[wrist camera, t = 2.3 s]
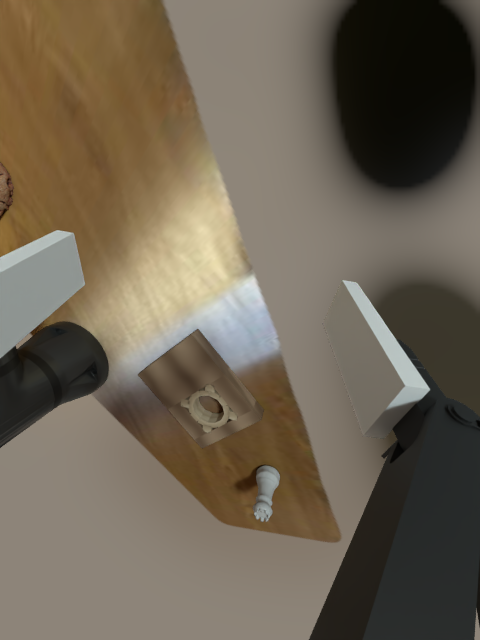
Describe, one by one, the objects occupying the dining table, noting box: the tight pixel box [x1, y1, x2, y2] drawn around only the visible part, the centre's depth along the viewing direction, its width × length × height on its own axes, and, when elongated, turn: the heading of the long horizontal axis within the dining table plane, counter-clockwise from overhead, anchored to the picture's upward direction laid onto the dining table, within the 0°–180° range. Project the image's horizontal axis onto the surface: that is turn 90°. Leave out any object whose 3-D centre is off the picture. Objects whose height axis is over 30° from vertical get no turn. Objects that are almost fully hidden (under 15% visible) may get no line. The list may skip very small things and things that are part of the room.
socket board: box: [138, 329, 264, 448], centre depth 44 cm, size 14×18×2 cm
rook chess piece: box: [253, 465, 280, 522], centre depth 45 cm, size 4×4×8 cm
